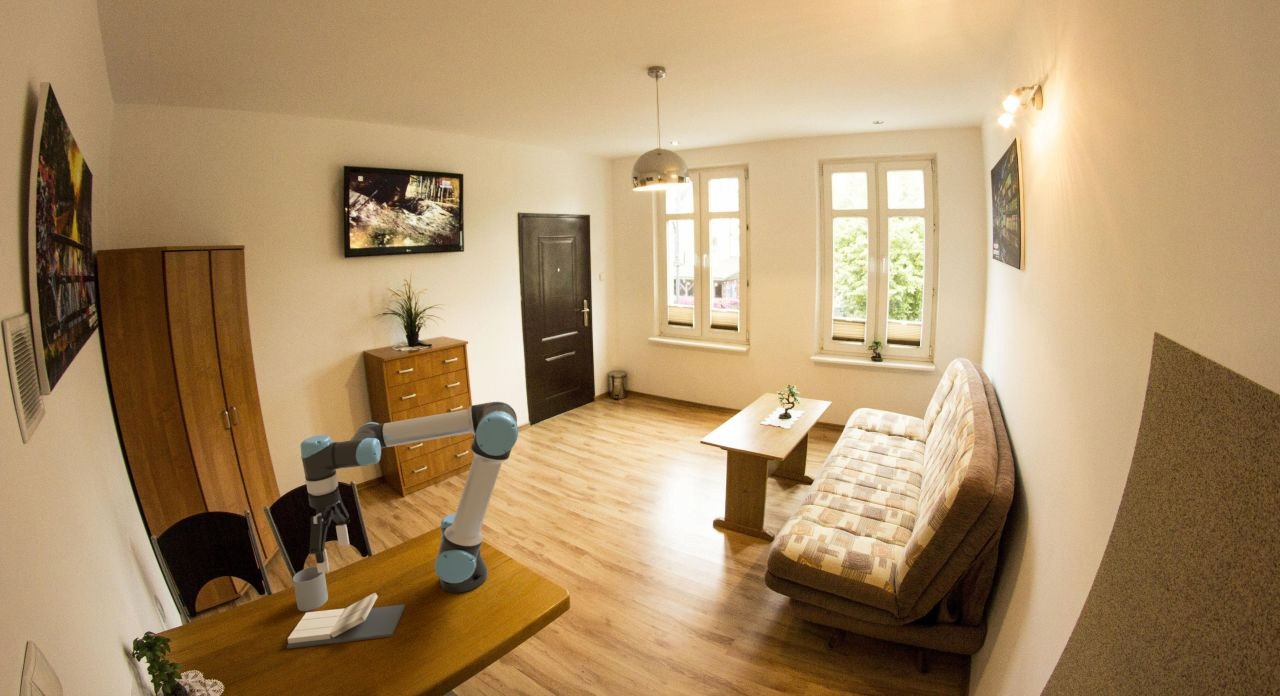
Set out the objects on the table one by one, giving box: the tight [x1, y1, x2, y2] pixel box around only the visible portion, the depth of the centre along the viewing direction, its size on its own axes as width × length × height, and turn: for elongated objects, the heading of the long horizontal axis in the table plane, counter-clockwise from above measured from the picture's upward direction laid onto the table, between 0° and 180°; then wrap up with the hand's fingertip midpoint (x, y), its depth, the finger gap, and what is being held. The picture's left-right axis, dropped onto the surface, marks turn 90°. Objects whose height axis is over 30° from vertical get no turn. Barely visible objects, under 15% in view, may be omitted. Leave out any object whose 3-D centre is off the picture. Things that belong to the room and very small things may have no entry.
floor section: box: [286, 604, 406, 650], centre depth 155 cm, size 28×13×2 cm, turn 98°
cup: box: [292, 565, 329, 612], centre depth 166 cm, size 8×8×10 cm
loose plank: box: [330, 592, 379, 637], centre depth 155 cm, size 10×11×2 cm
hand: (334, 557), depth 152 cm, fingers open, 13 cm apart
